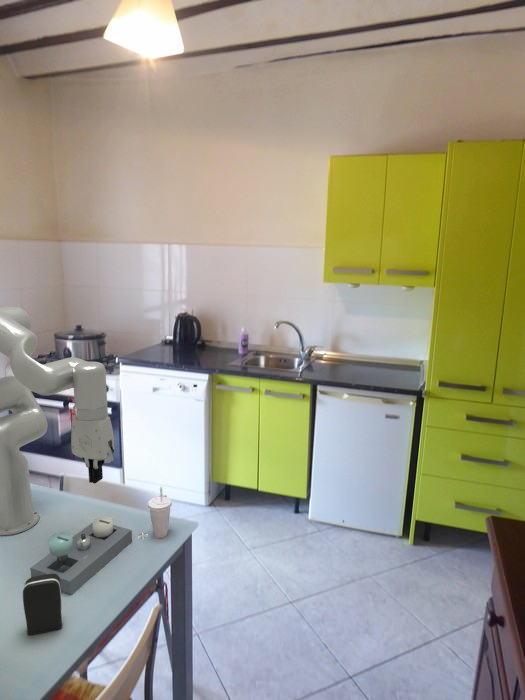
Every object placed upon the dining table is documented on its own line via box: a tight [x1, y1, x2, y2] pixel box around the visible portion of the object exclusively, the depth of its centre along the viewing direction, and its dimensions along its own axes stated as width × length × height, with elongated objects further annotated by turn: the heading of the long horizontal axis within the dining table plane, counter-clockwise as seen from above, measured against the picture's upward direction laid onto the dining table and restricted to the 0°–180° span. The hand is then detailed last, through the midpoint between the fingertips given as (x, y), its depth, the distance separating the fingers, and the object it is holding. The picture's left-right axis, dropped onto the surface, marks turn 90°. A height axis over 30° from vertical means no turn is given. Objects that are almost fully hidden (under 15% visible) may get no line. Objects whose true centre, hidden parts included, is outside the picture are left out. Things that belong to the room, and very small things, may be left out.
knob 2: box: [92, 516, 114, 540], centre depth 125 cm, size 5×5×6 cm
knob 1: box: [48, 531, 73, 562], centre depth 112 cm, size 5×5×6 cm
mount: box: [29, 521, 133, 596], centre depth 119 cm, size 12×22×4 cm, turn 158°
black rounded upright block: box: [22, 573, 64, 636], centre depth 97 cm, size 7×4×11 cm, turn 108°
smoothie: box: [147, 486, 173, 539], centre depth 129 cm, size 6×6×14 cm
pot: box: [77, 534, 91, 551], centre depth 118 cm, size 3×3×4 cm
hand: (96, 480), depth 121 cm, fingers closed
